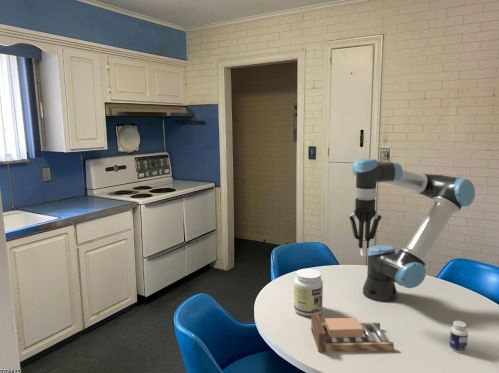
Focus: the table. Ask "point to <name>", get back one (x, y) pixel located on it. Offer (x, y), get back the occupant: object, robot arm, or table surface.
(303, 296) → the supplement tub
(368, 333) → the roller bed
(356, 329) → the slab
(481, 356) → the table surface
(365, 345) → the frame
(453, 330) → the pill bottle
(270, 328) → the table surface
